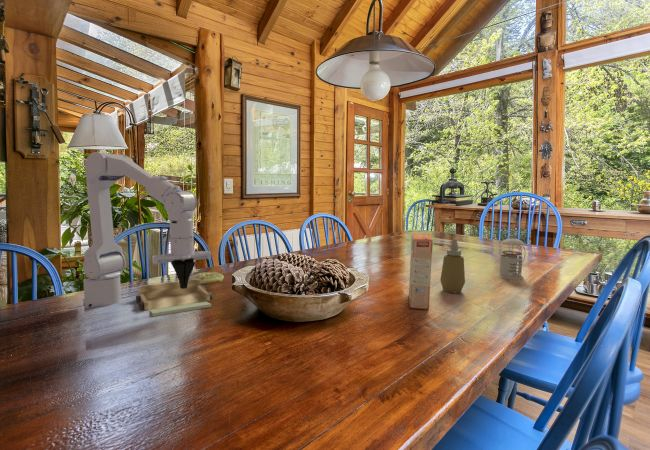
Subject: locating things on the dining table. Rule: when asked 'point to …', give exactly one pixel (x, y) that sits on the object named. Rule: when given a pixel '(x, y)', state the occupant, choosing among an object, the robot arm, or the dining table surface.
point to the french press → (511, 260)
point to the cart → (171, 295)
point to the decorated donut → (209, 277)
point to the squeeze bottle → (453, 270)
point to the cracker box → (420, 270)
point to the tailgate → (180, 308)
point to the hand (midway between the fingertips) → (183, 287)
